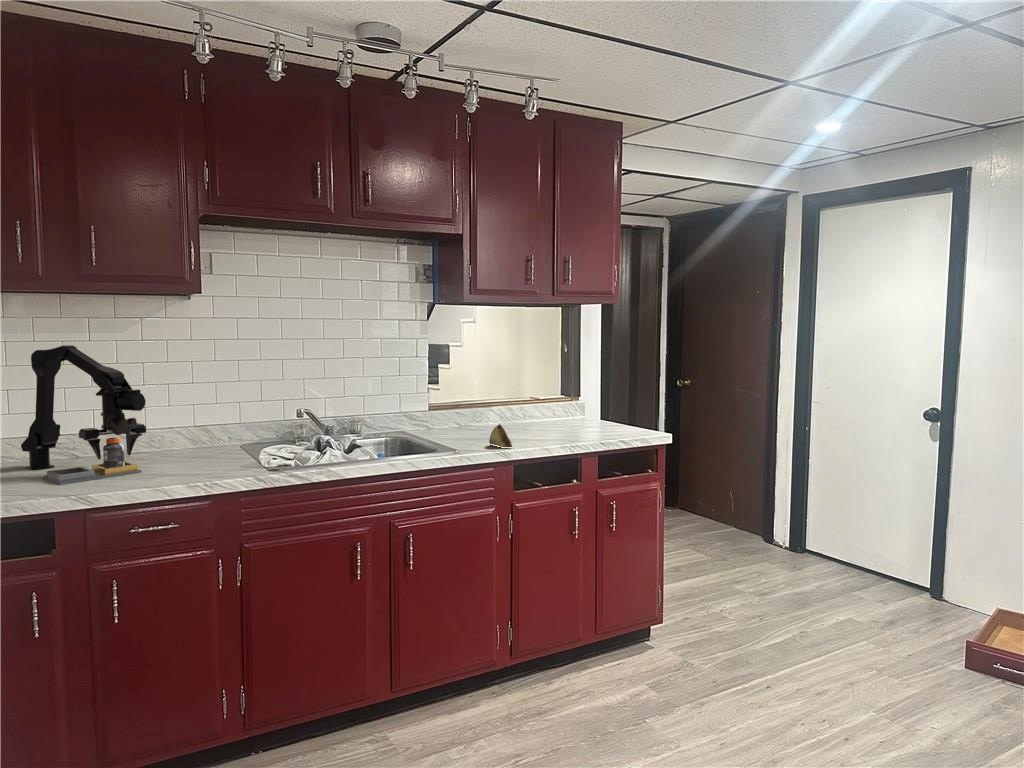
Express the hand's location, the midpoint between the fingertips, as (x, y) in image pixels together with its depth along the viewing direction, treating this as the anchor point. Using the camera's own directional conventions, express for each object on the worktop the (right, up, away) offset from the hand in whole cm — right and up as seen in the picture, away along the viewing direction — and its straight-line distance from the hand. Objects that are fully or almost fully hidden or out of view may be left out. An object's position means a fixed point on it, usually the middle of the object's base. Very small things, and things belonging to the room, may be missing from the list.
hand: (114, 457), depth 235 cm
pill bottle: (0, -5, 0) cm, 5 cm away
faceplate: (-4, -5, -5) cm, 8 cm away
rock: (+125, -2, +54) cm, 136 cm away
